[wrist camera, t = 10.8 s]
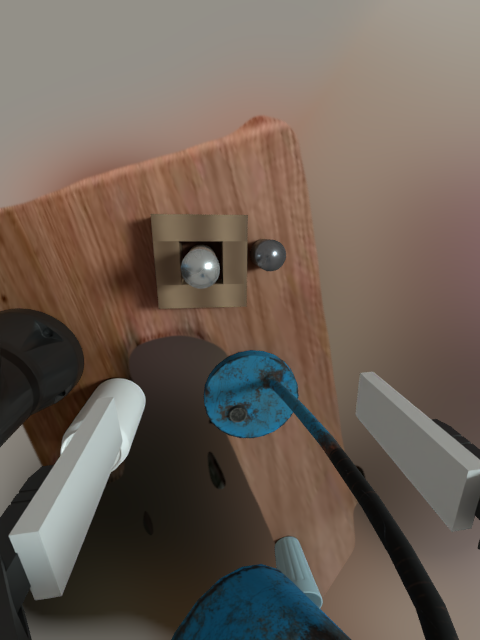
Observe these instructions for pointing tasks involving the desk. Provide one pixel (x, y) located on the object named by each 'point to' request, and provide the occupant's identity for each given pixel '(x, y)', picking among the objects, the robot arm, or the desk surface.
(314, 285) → the desk surface
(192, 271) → the tall pin
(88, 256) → the desk surface
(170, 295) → the tan square frame
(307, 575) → the cup
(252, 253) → the stub pin
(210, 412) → the desk lamp
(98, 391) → the beverage can
